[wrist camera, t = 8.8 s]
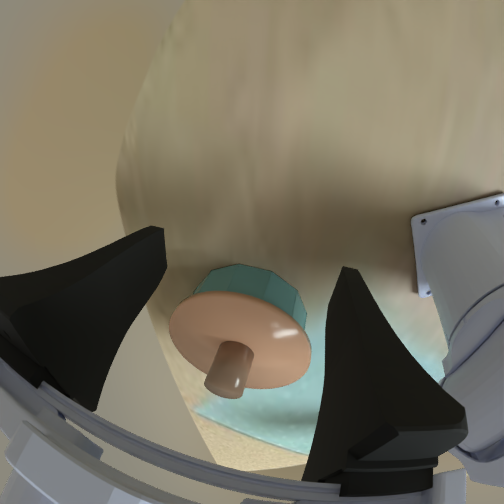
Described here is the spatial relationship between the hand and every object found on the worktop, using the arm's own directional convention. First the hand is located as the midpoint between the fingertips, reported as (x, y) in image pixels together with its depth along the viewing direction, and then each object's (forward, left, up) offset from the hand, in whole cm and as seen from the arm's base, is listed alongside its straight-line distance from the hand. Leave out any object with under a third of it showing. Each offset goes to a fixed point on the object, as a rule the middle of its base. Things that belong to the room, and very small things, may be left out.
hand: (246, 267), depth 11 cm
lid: (+8, +12, -6) cm, 16 cm away
